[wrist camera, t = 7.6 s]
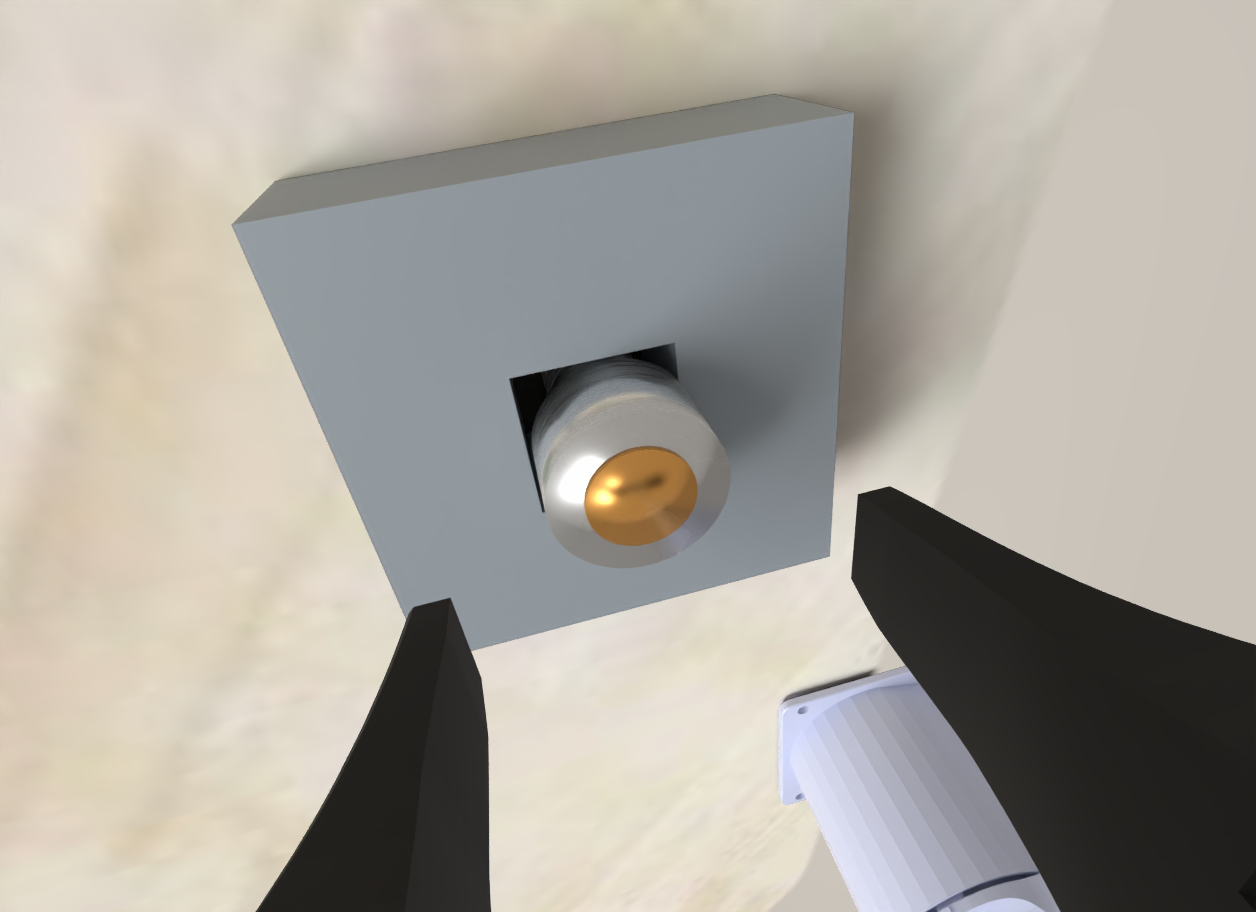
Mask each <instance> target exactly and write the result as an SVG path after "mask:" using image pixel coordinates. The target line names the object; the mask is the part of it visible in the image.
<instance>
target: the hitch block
mask: <svg viewBox="0 0 1256 912" xmlns="http://www.w3.org/2000/svg"><path fill="white" fill-rule="evenodd" d="M853 126H854V112H850V111H846V110H841V109H837V108H833V107H828V106H824V105H819V104H815V103H811V102H806V101H802V100H797V99H793V98H789V97H784V96H780V95H775V94H772V95H766V96H761V97H755V98H749V99H743V100H738V101H732V102H726V103H720V104H715V105H709V106H703V107H697V108H692V109H686V110H680V111H675V112H669V113H663V114H657V115H652V116H646V117H640V118H634V119H629V120H623V121H617V122H611V123H606V124H600V125H594V126H589V127H583V128H577V129H571V130H566V131H560V132H554V133H548V134H543V135H537V136H531V137H525V138H520V139H514V140H508V141H503V142H497V143H491V144H485V145H480V146H474V147H468V148H462V149H457V150H451V151H445V152H439V153H434V154H428V155H422V156H416V157H411V158H405V159H399V160H394V161H388V162H382V163H376V164H371V165H365V166H359V167H353V168H348V169H342V170H336V171H330V172H325V173H319V174H313V175H308V176H302V177H296V178H290V179H285V180H279V181H275V182H274V183H273V184H272V185H271V186H270V187H269V188H268V189H267V190H266V191H265V192H264V193H263V194H262V195H261V196H260V197H259V198H258V199H257V200H256V201H255V202H254V203H253V204H252V205H251V206H250V207H249V208H248V209H247V210H246V211H245V212H244V213H243V214H242V215H241V216H240V217H239V218H238V219H237V220H236V221H235V222H234V223H233V224H232V227H233V230H234V232H235V234H236V236H237V239H238V241H239V243H240V245H241V248H242V250H243V252H244V254H245V257H246V259H247V261H248V263H249V266H250V268H251V270H252V272H253V275H254V277H255V279H256V281H257V284H258V286H259V288H260V291H261V293H262V295H263V297H264V300H265V302H266V304H267V306H268V309H269V311H270V313H271V315H272V318H273V320H274V322H275V324H276V327H277V329H278V331H279V333H280V336H281V338H282V340H283V342H284V345H285V347H286V349H287V352H288V354H289V356H290V358H291V361H292V363H293V365H294V367H295V370H296V372H297V374H298V376H299V379H300V381H301V383H302V385H303V388H304V390H305V392H306V394H307V397H308V399H309V401H310V403H311V406H312V408H313V410H314V412H315V415H316V417H317V419H318V422H319V424H320V426H321V428H322V431H323V433H324V435H325V437H326V440H327V442H328V444H329V446H330V449H331V451H332V453H333V455H334V458H335V460H336V462H337V464H338V467H339V469H340V471H341V473H342V476H343V478H344V480H345V483H346V485H347V487H348V489H349V492H350V494H351V496H352V498H353V501H354V503H355V505H356V507H357V510H358V512H359V514H360V516H361V519H362V521H363V523H364V525H365V528H366V530H367V532H368V534H369V537H370V539H371V541H372V544H373V546H374V548H375V550H376V553H377V555H378V557H379V559H380V562H381V564H382V566H383V568H384V571H385V573H386V575H387V577H388V580H389V582H390V584H391V586H392V589H393V591H394V593H395V595H396V598H397V600H398V602H399V604H400V607H401V609H402V611H403V614H404V616H405V618H406V620H407V617H408V614H409V612H410V611H411V610H412V608H413V607H415V606H419V605H423V604H427V603H431V602H435V601H439V600H443V599H447V598H451V600H452V603H453V605H454V608H455V610H456V613H457V616H458V618H459V621H460V624H461V626H462V629H463V631H464V634H465V637H466V639H467V642H468V645H469V647H470V650H471V651H473V650H477V649H481V648H485V647H488V646H492V645H496V644H500V643H504V642H507V641H511V640H515V639H519V638H523V637H526V636H530V635H534V634H538V633H541V632H545V631H549V630H553V629H557V628H560V627H564V626H568V625H572V624H576V623H579V622H583V621H587V620H591V619H595V618H598V617H602V616H606V615H610V614H613V613H617V612H621V611H625V610H629V609H632V608H636V607H640V606H644V605H648V604H651V603H655V602H659V601H663V600H667V599H670V598H674V597H678V596H682V595H685V594H689V593H693V592H697V591H701V590H704V589H708V588H712V587H716V586H720V585H723V584H727V583H731V582H735V581H739V580H742V579H746V578H750V577H754V576H757V575H761V574H765V573H769V572H773V571H776V570H780V569H784V568H788V567H792V566H795V565H799V564H803V563H807V562H810V561H814V560H818V559H822V558H826V557H829V556H830V543H831V525H832V507H833V489H834V471H835V452H836V434H837V416H838V398H839V380H840V362H841V344H842V326H843V307H844V289H845V271H846V253H847V235H848V217H849V199H850V181H851V162H852V144H853ZM639 350H642V357H643V361H646V362H650V363H652V364H655V365H657V366H659V367H661V368H663V369H665V370H666V371H668V372H669V373H671V374H672V375H673V376H674V377H675V378H677V380H678V381H679V382H680V383H681V384H682V385H683V387H684V388H685V390H686V391H687V393H688V394H689V396H690V397H691V399H692V400H693V402H694V403H695V405H696V406H697V408H698V409H699V411H700V412H701V414H702V415H703V417H704V418H705V420H706V421H707V423H708V424H709V426H710V427H711V429H712V430H713V432H714V433H715V435H716V436H717V438H718V439H719V441H720V443H721V444H722V446H723V447H724V449H725V452H726V454H727V457H728V460H729V465H730V474H731V479H730V488H729V493H728V497H727V500H726V502H725V505H724V507H723V509H722V511H721V513H720V515H719V516H718V518H717V519H716V521H715V522H714V524H713V525H712V526H711V527H710V529H709V530H708V531H707V532H706V533H705V534H704V535H703V536H702V537H701V538H700V539H699V540H698V541H696V542H695V543H694V544H692V545H691V546H690V547H689V548H687V549H685V550H684V551H682V552H680V553H679V554H677V555H675V556H673V557H671V558H669V559H666V560H663V561H661V562H658V563H655V564H651V565H647V566H642V567H636V568H609V567H602V566H598V565H595V564H591V563H589V562H586V561H584V560H582V559H580V558H578V557H576V556H575V555H573V554H572V553H570V552H569V551H568V550H566V549H565V548H564V547H563V546H562V545H561V544H560V543H559V541H558V540H557V539H556V537H555V536H554V534H553V533H552V530H551V528H550V526H549V524H548V520H547V517H546V513H545V508H544V503H543V499H542V494H541V489H540V485H539V480H538V475H537V471H536V466H535V461H534V456H533V452H532V443H531V438H532V432H529V433H526V432H525V428H524V424H523V420H522V416H521V412H520V408H519V404H518V400H517V396H516V392H515V388H514V384H513V379H512V378H514V377H519V376H523V375H528V374H533V373H537V372H542V371H546V370H551V369H556V368H560V367H565V366H569V365H574V364H579V363H583V362H588V361H592V360H597V359H602V358H606V357H611V356H616V355H620V354H625V353H629V352H634V351H639Z"/></svg>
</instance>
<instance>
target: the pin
mask: <svg viewBox="0 0 1256 912" xmlns="http://www.w3.org/2000/svg"><path fill="white" fill-rule="evenodd" d="M541 375H542V379H543V383H544V386H545V390H546V393H547V397H546V398H545V399H544V401H543V402H542V404H541V406H540V408H539V410H538V412H537V414H536V417H535V420H534V423H533V428H532V438H531V443H532V452H533V456H534V461H535V466H536V471H537V475H538V480H539V485H540V489H541V494H542V499H543V503H544V508H545V513H546V517H547V520H548V524H549V526H550V528H551V530H552V533H553V534H554V536H555V537H556V539H557V540H558V541H559V543H560V544H561V545H562V546H563V547H564V548H565V549H566V550H568V551H569V552H570V553H572V554H573V555H575V556H576V557H578V558H580V559H582V560H584V561H586V562H589V563H591V564H595V565H598V566H602V567H609V568H636V567H642V566H647V565H651V564H655V563H658V562H661V561H663V560H666V559H669V558H671V557H673V556H675V555H677V554H679V553H680V552H682V551H684V550H685V549H687V548H689V547H690V546H691V545H692V544H694V543H695V542H696V541H698V540H699V539H700V538H701V537H702V536H703V535H704V534H705V533H706V532H707V531H708V530H709V529H710V527H711V526H712V525H713V524H714V522H715V521H716V519H717V518H718V516H719V515H720V513H721V511H722V509H723V507H724V505H725V502H726V500H727V497H728V493H729V488H730V479H731V474H730V465H729V460H728V457H727V454H726V452H725V449H724V447H723V446H722V444H721V443H720V441H719V439H718V438H717V436H716V435H715V433H714V432H713V430H712V429H711V427H710V426H709V424H708V423H707V421H706V420H705V418H704V417H703V415H702V414H701V412H700V411H699V409H698V408H697V406H696V405H695V403H694V402H693V400H692V399H691V397H690V396H689V394H688V393H687V391H686V390H685V388H684V387H683V385H682V384H681V383H680V382H679V381H678V380H677V378H675V377H674V376H673V375H672V374H671V373H669V372H668V371H666V370H665V369H663V368H661V367H659V366H657V365H655V364H652V363H650V362H646V361H642V360H637V359H634V358H633V356H632V354H631V353H630V352H629V353H625V354H620V355H616V356H611V357H606V358H602V359H597V360H592V361H588V362H583V363H579V364H574V365H569V366H565V367H560V368H556V369H551V370H546V371H542V372H541Z"/></svg>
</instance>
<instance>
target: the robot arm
mask: <svg viewBox="0 0 1256 912" xmlns="http://www.w3.org/2000/svg"><path fill="white" fill-rule="evenodd" d="M851 579H852V581H853V583H854V585H855V587H856V588H857V590H858V592H859V594H860V596H861V598H862V600H863V602H864V603H865V605H866V607H867V609H868V610H869V612H870V614H871V616H872V617H873V619H874V621H875V623H876V624H877V626H878V628H879V629H880V631H881V632H882V633H883V635H884V636H885V638H886V639H887V640H888V642H889V643H890V644H891V646H892V647H893V649H894V650H895V651H896V653H897V654H898V656H899V657H900V658H901V660H902V661H903V662H904V664H905V665H906V666H904V667H900V668H897V669H893V670H890V671H886V672H883V673H879V674H876V675H872V676H869V677H865V678H862V679H859V680H855V681H852V682H848V683H845V684H841V685H838V686H834V687H831V688H827V689H824V690H820V691H817V692H814V693H810V694H807V695H803V696H800V697H796V698H793V699H789V700H787V701H785V702H783V703H782V704H781V706H780V707H779V797H780V800H781V802H782V803H783V804H785V805H789V804H793V803H796V802H800V801H803V800H807V802H808V805H809V807H810V809H811V811H812V813H813V815H814V817H815V819H816V822H817V824H818V826H819V828H820V830H821V832H822V834H823V836H824V838H825V841H826V842H827V845H828V847H829V849H830V851H831V854H832V855H833V858H834V860H835V862H836V864H837V866H838V868H839V871H840V873H841V875H842V877H843V879H844V881H845V883H846V885H847V888H848V890H849V892H850V894H851V896H852V898H853V900H854V902H855V904H856V907H857V909H858V911H859V912H1256V645H1254V644H1251V643H1248V642H1244V641H1240V640H1237V639H1234V638H1231V637H1228V636H1225V635H1222V634H1219V633H1216V632H1213V631H1210V630H1207V629H1204V628H1200V627H1197V626H1194V625H1191V624H1188V623H1185V622H1182V621H1179V620H1176V619H1173V618H1171V617H1168V616H1165V615H1162V614H1159V613H1157V612H1154V611H1151V610H1149V609H1146V608H1143V607H1141V606H1138V605H1136V604H1133V603H1131V602H1128V601H1125V600H1123V599H1120V598H1118V597H1115V596H1112V595H1110V594H1107V593H1105V592H1102V591H1100V590H1098V589H1095V588H1093V587H1091V586H1088V585H1086V584H1083V583H1081V582H1079V581H1076V580H1074V579H1072V578H1070V577H1068V576H1066V575H1063V574H1061V573H1059V572H1057V571H1054V570H1052V569H1050V568H1048V567H1046V566H1044V565H1042V564H1039V563H1037V562H1035V561H1033V560H1031V559H1029V558H1027V557H1025V556H1023V555H1021V554H1019V553H1017V552H1015V551H1013V550H1011V549H1008V548H1007V547H1005V546H1003V545H1001V544H999V543H997V542H995V541H993V540H991V539H989V538H987V537H985V536H983V535H981V534H979V533H978V532H976V531H974V530H972V529H970V528H968V527H966V526H964V525H963V524H961V523H959V522H957V521H955V520H953V519H951V518H949V517H948V516H945V515H944V514H942V513H940V512H938V511H937V510H935V509H933V508H931V507H929V506H927V505H925V504H923V503H922V502H920V501H918V500H916V499H914V498H912V497H910V496H908V495H906V494H904V493H903V492H901V491H899V490H897V489H894V488H892V487H890V486H889V487H885V488H881V489H877V490H873V491H869V492H865V493H861V494H858V501H857V513H856V526H855V538H854V550H853V563H852V575H851ZM256 912H491V904H490V881H489V757H488V730H487V721H486V712H485V704H484V696H483V689H482V681H481V676H480V674H479V671H478V668H477V666H476V663H475V660H474V658H473V655H472V653H471V650H470V647H469V645H468V642H467V639H466V637H465V634H464V631H463V629H462V626H461V624H460V621H459V618H458V616H457V613H456V610H455V608H454V605H453V603H452V600H451V598H447V599H443V600H439V601H435V602H431V603H427V604H423V605H419V606H415V607H413V608H412V610H411V611H410V612H409V614H408V617H407V620H406V622H405V625H404V628H403V631H402V634H401V636H400V639H399V642H398V645H397V647H396V650H395V652H394V655H393V657H392V660H391V662H390V665H389V667H388V670H387V672H386V675H385V677H384V680H383V682H382V684H381V687H380V689H379V691H378V693H377V696H376V698H375V700H374V702H373V705H372V707H371V709H370V711H369V714H368V716H367V718H366V720H365V723H364V725H363V727H362V729H361V731H360V733H359V735H358V737H357V739H356V741H355V743H354V745H353V747H352V749H351V751H350V753H349V755H348V757H347V759H346V761H345V763H344V765H343V767H342V769H341V771H340V773H339V775H338V777H337V779H336V781H335V783H334V785H333V786H332V788H331V790H330V792H329V794H328V795H327V797H326V799H325V801H324V803H323V805H322V806H321V808H320V810H319V812H318V813H317V815H316V817H315V819H314V820H313V822H312V824H311V825H310V827H309V829H308V830H307V832H306V834H305V835H304V837H303V839H302V840H301V842H300V844H299V845H298V847H297V849H296V850H295V852H294V854H293V855H292V857H291V858H290V860H289V862H288V863H287V865H286V866H285V868H284V869H283V871H282V872H281V874H280V875H279V877H278V878H277V880H276V881H275V883H274V885H273V886H272V888H271V889H270V891H269V892H268V894H267V895H266V897H265V898H264V900H263V901H262V903H261V904H260V906H259V908H258V909H257V910H256Z"/></svg>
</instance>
